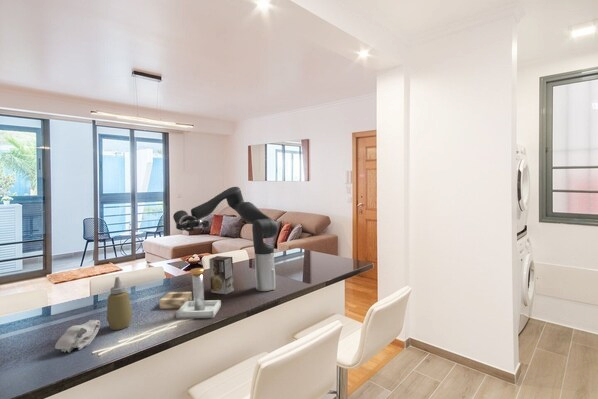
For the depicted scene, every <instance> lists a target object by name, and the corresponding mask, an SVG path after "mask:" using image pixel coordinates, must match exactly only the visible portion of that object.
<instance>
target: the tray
mask: <svg viewBox="0 0 598 399" xmlns="http://www.w3.org/2000/svg"><path fill="white" fill-rule="evenodd" d="M204 304H205V310H204V311H194V300H191V301H187V302H186V303H185V304H184V305H183V306H182V307H181V308H178V309H177V311H175V316H176V318H175V319H176V320H179V319H181V320H185V319H212V318H213V319H214V317H215V316H216V315H217V313H218V312H219V310H220V308H221V307H222V300H221V299H216V300H215V299H214V300H204Z"/></svg>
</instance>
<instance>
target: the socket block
mask: <svg viewBox="0 0 598 399" xmlns="http://www.w3.org/2000/svg"><path fill="white" fill-rule="evenodd" d="M187 301H193V291H169V292H168V293H166V294H165V295H164V296H162V298H160V299H159V302H158V303H159V309H180V308H181V307H182V306H183V305H184V304H185V303H186V302H187Z"/></svg>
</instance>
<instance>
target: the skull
mask: <svg viewBox="0 0 598 399" xmlns="http://www.w3.org/2000/svg"><path fill="white" fill-rule="evenodd" d="M100 328H101V321H100V320H98V319H89V320H88V321H87V322H85V323H82V324H78V325H77V324H75V325H71V326H70V327H68V328H67V329H66V331H65V332H64V333H63V334H62V335H61V336H60V337H59V338H58V340H57V341H56V343H55V346H54V349H56V350H60V351H61V352H62V353H63V352H64V353H68V354H69V353H71V351H73V350H74V349H75V348H78V349H77V350H78V351H81V350H82V349H83V348H85V347H88V346H89V345H90V344H91V343H92V342H93V340H95V338H96V336H97V334H98V332H99V331H100Z"/></svg>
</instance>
